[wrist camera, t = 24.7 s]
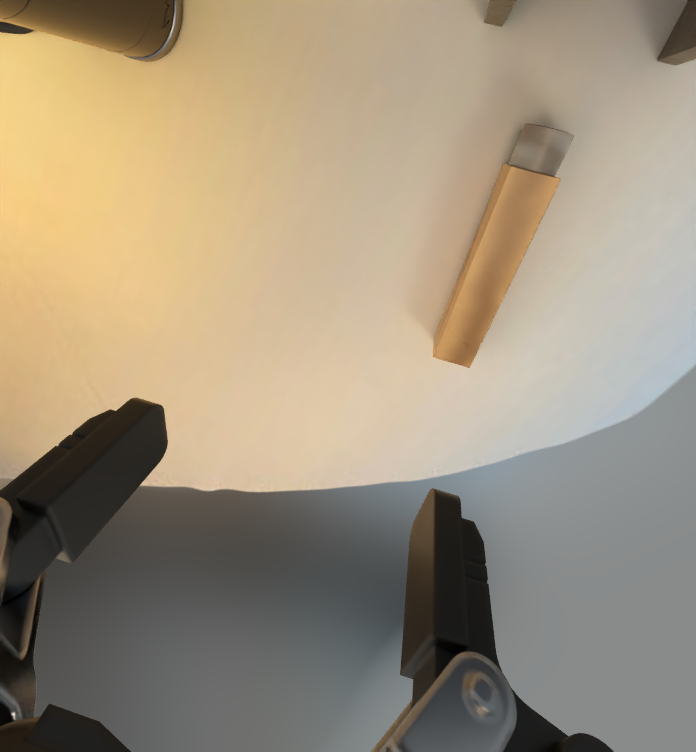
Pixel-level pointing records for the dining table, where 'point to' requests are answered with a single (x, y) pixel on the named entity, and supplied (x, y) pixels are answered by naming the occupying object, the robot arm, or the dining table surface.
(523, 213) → the long wooden beam
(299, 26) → the dining table surface
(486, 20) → the shelf stand
